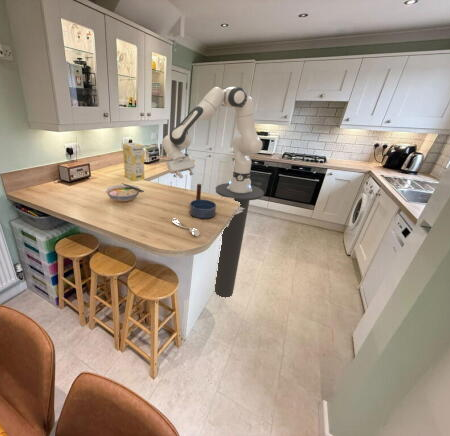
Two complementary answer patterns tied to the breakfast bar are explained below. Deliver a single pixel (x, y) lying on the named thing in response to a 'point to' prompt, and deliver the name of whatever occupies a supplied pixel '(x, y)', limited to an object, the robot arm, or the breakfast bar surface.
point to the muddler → (198, 192)
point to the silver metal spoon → (192, 230)
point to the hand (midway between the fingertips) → (186, 176)
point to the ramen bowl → (123, 192)
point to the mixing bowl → (202, 208)
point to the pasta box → (133, 161)
